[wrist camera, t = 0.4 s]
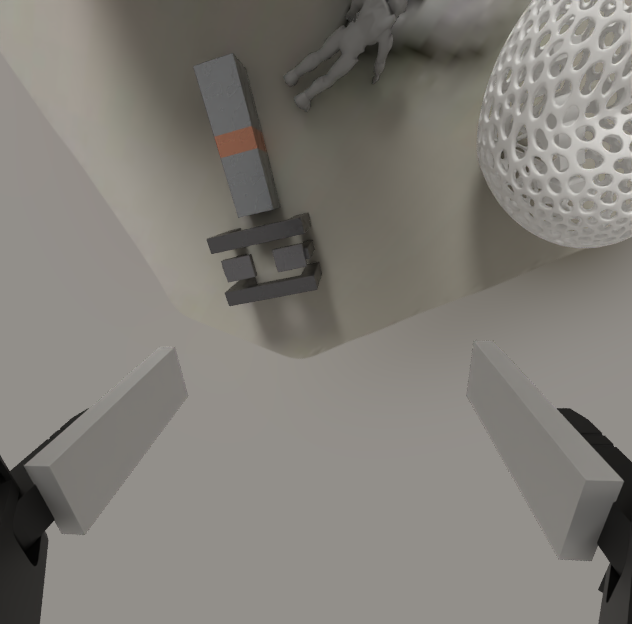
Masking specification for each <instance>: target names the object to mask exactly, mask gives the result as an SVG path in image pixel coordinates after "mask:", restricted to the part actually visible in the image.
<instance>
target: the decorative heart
mask: <svg viewBox="0 0 632 624" xmlns="http://www.w3.org/2000/svg"><path fill="white" fill-rule="evenodd" d="M594 2H595V0H590V1H589V2H588V3H585V2H584V0H532V2H531V3H530V4H529V6H528V7H527V9H526V10H525V11H524V13H523V14H522V16H521V17H520V19H519V20H518V22H517V23H516V25H515V27H514V28H513V30H512V32H511V33H510V35H509V37H508V39H507V40H506V42H505V44H504V46H503V48H502V50H501V52H500V54H499V56H498V58H497V61H496V63H495V65H494V68H493V71H492V73H491V76H490V79H489V82H488V85H487V88H486V91H485V94H484V99H483V103H482V107H481V112H480V117H479V122H478V131H477V156H478V161H479V165H480V168H481V171H482V173H483V176H484V178H485V180H486V182H487V184H488V186H489V188H490V190H491V192H492V193H493V195H494V197H495V198H496V200H497V201H498V203H499V204H500V205H501V206H502V208H503V209H504V210H505V211H506V212H507V213H508V214H509V215H510V217H511V218H512V219H513V220H515V221H516V222H517V223H518V224H519V225H521V226H522V227H523V228H525V229H526V230H527V231H529V232H530V233H532V234H534V235H536V236H538V237H540V238H542V239H544V240H547V241H549V242H552V243H555V244H558V245H561V246H566V247H573V248H597V247H603V246H606V245H611V244H615V243H618V242H621V241H623V240H626V239H628V238H630V237H632V210H631V209H632V201H631V202H630V203H629V204H628V205H626V200H627V199H632V184H631V186H630V187H629V188H628V187H627V182H628V180H630V181H631V182H632V165H631V161H632V144H631V146H630V147H629V145H630V143H631V142H632V111H631V110H629V109H627V108H626V106H628V105H629V104H632V96H631V95H632V64H631V59H632V4H631V5H630V6H627V5H626V4H625V2H624V0H598V1H597V3H596V4H595V5H594ZM568 3H572V4H570V5H566V4H568ZM609 3H613V4H614V5H610V4H609ZM600 11H603V12H604V16H601V14H600ZM614 11H615V12H614ZM612 12H614V13H613V14H612V15H611V16H609V15H610V13H612ZM560 14H565V15H564V16H563V17H562V18H561V19H559V20H558V21H556V19H557V17H558V16H559V15H560ZM608 16H609V17H608ZM587 19H589V22H588V25H587V28H586V29H585V31H584V32H583V33H582V34H580V35H575V34H574V33H575V31H576V29H577V28H578V26H579V25H580V24H581V23H582V22H583V21H585V20H587ZM544 22H546V24H545V26H544V27H543V28H542V30H540V31H539V27H540V25H541V24H542V23H544ZM615 22H616V23H615ZM532 23H533V26H532V27H531V28H530V29H528V28H529V27H530V26H531V24H532ZM612 23H613V24H612ZM565 24H567V25H569V29H568V30H567V31H566V32H564V33H563V34H560V30H561V28H562V27H563V25H565ZM622 24H623V25H624V31H623V29H622ZM594 27H595V28H594ZM592 28H594V31H593V33H592V34H591V36H590V37H589V32H590V30H591V29H592ZM609 32H613V33H614V39H613V42H612V44H611V45H610V46H605V44H604V39H605V36H606V34H607V33H609ZM547 34H551V37H550V40H549V41H548V42H547V44H546V45H544V46H543V47H540V42H541V40H542V39H543V37H544V36H546V35H547ZM600 34H601V35H600ZM621 45H622V48H621V51H620V53H619V54H618V55H616V54H615V51H616V50H617V48H618V47H619V46H621ZM525 47H526V48H525ZM524 48H525V50H524ZM523 50H524V53H523V55H522V56H521V54H522V52H523ZM582 50H583V56H582V59H581V60H580V62H579V63H578V64H577V65H576V66H575V67H573V62H574V59H575V57H576V56H577V54H579V53H580V52H582ZM589 52H590V56H589V59H588V55H589ZM520 57H521V58H520ZM618 61H619V62H618ZM598 62H601V63H603V71H601V72H596V71H595V66H596V63H598ZM616 62H618V63H616ZM615 63H616V64H615ZM560 64H561V65H562V67H561V70H560V68H559V65H560ZM510 69H511V70H512V73H511V76H510V78H509V79H508V80H507V81H506V78H507V75H508V72H509V70H510ZM523 69H524V70H523ZM522 71H523V72H522ZM521 72H522V74H521ZM585 73H586V83H585V85H584V87H583V89H582V90H581V92H580V89H579V88H580V83H581V80H582V78H583V76H584V74H585ZM612 73H615V78H614V81H611V80H610V76H609V75H610V74H612ZM520 74H521V75H520ZM564 80H565V83H564V86H563V87H562V89H561V90H560V91H558V92H557V93H556V90H558V89H560V83H561V82H562V81H564ZM594 80H599V82H598V83H597V85H596V87H595V88H594V90H593V91H592V90H591V84H592V82H593V81H594ZM522 81H524V83H523V85H522V86H521V87H519V84H520V83H521V82H522ZM495 83H496V84H495ZM570 83H571V84H572V89H571V90H570ZM494 86H495V87H494ZM526 91H528V93H526ZM605 92H606V94H604V93H605ZM615 92H617V100H616V101H615V103H614V104H613V105H612V106H609V107H606V105H607V102H608V101H609V99H610V98H611V96H612V95H613V94H614V93H615ZM603 94H604V95H603ZM542 95H544V96H543V98H542V99H541V101H540V102H539V103H538V104H537V105H536V106H533V104H534V99H535V98H536V97H539V96H542ZM561 95H562V96H561ZM510 102H511V103H512V106H511V107H510ZM521 103H524V104H523V105H522V107H521V108H520V104H521ZM543 104H544V105H543ZM589 104H590V105H589ZM491 105H492V111H491V116H490V119H489V112H490V108H491ZM542 105H543V107H542V110H541V112H540V115H539V116H538V113H539V110H540V108H541V106H542ZM588 105H589V106H588ZM587 106H588V107H587ZM500 107H501V110H500ZM499 111H500V115H499ZM585 113H593V114H594V115H595V116H594V117H591V118H586V117H585ZM512 117H513V121H512V122H511V120H512ZM607 119H611V120H612V121H613V122H614V125H613V124H611V123H609V122H608V121H607ZM629 121H631V124H629V123H628V122H629ZM524 125H525V127H526V128H525V127H524ZM585 126H587V127H585ZM601 127H605V128H606V129H603V128H601ZM623 130H626V131H628V132H629V133H630V134H631V135H627V134H625V133H624V131H623ZM497 131H498V138H497ZM519 131H520V132H522V133H523V135H519V136H517V135H518V133H519ZM586 131H590V132H591V133H592V134H593V138H592V139H591V140H587V139H586V138H585V137H584V135H585V132H586ZM507 136H509V137H508V138H507ZM525 138H528V146H527V147H526V146H523V145H521V144H519V143H517V141H519V140H521V139H525ZM617 139H618V140H619V141H620V143H621V144H620V143H619V142H618V140H617ZM602 141H605V142H607V143H608V144H609V145H610V150H609V151H607V150H606V149H605V148H604V147H603V146H602ZM539 146H540V147H541V148H539ZM516 147H519V148H521V149H523V150H524V153H523V152H521V151H519V150H517V149H516ZM585 149H588V150H587V152H586V153H585ZM502 151H503V152H504V159H501V153H502ZM597 153H598V154H599V155H598V154H597ZM553 155H556V156H557V157H558V158H556V159H555V160H552V158H553ZM535 156H537V157H539V158H541V160H538V159H536V158H534V157H535ZM587 158H591V159H593V160H594V161H595V168H594V169H584V168H583V167H582V164H584V163H585V159H587ZM623 158H624V159H623ZM493 159H494V161H493ZM619 159H623V161H622V162H618V161H617V160H619ZM508 163H509V169H508ZM534 164H536V165H534ZM526 166H527V167H528V168H529V172H528V173H527V171H526ZM618 168H623V170H624V174H622V173H619V172H617V171H616V169H618ZM517 171H518V174H519V178H517V179H516V177H515V174H516V173H517ZM599 174H605V179H604V180H603V181H601V182H600V181H599V179H598V175H599ZM575 175H580V178H579V177H576V176H575ZM593 180H594V181H595V183H594V182H593ZM507 182H508V183H507ZM508 185H511V186H512V188H513V191H514V192H513V191H511V190H510V188H509V187H508ZM532 188H534V190H533V189H532ZM538 188H539V189H541V190H540V191H538ZM619 189H621V191H620V190H619ZM596 191H597V193H596V194H595V192H596ZM604 192H607V194H606V195H605V197H603V198H601V199H600V197H601V195H602V194H603V193H604ZM614 193H615V194H616V196H617V199H616V201H615V202H613V195H614ZM522 194H525V195H526V197H527V198H524V197H523V196H522ZM510 198H511V200H512V201H511V200H510ZM531 199H533V200H534V206H531V205H530V200H531ZM569 200H571V202H572V204H573V206H569V205H568V201H569ZM561 201H563V202H562V203H561ZM586 201H593V202H594V205H593V207H592V208H590V209H584V208H583V203H584V202H586ZM545 204H551V205H552V206H553V207H549V206H547V205H545ZM565 209H567V210H568V211H567V210H565ZM604 210H606V211H605V212H604V213H601V212H602V211H604ZM630 210H631V211H630ZM613 211H616V212H617V213H616V215H615V216H613V217H611V218H610V216H611V214H612V212H613ZM629 211H630V212H629ZM529 213H531V214H532V215H533V216H534V218H533V217H532V216H531V215H530V214H529ZM600 213H601V214H600ZM552 215H555V216H556V217H553V216H552ZM589 217H592V218H591V219H589V220H588V218H589ZM572 219H577V220H579V222H578V223H573V222H572V221H571V220H572ZM543 220H546V221H543ZM609 224H610V226H609V227H606V226H607V225H609ZM585 227H589V228H586V229H583V228H585ZM571 229H572V230H576V231H568V230H571Z"/></svg>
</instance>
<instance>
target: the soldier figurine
mask: <svg viewBox="0 0 632 624" xmlns="http://www.w3.org/2000/svg"><path fill="white" fill-rule="evenodd" d="M386 2H387V3H386ZM406 6H407V0H386V1H385V0H352V3H351V9H350V10H349V11H348V13H347V14H346V16H345V18H346V17H347V18H346V20H347V19H348V18H349V20H348V21H350V19H351V18H352V19H351V23H350V24H349V25H348V27H346V28H345V26H343V25H342V26H341V27H340V28H338V29H337V30H336V31H334V32H333V33H332V34H331V35H330V36H329V37H328V38H327V39H326V40H325V42H324V45H323V46H322V47H321V48H320V49H319V50H318V51H316V52H313V53H310V54H308V55H307V56H306V57H305V58H304V59H303V61H302V62H301V63H299V64H298V65H297V66H295V68H294V69H292V70H290V71H289V72H287V74H285V75H284V77H283V78H284V80H285V82H286V84H287V85H288V86H289V87H291V86H292V85H294V86H295V84H296V83H297V80H298V79H299V77H301V76H302V75H304V74H305V73H307V72H310V71H312V70H314V69H315V68H316V67H317V66H318V65H319V64H320V63H321V62H323V61H325V60H327V59H330V58H331V57H332V56H333V55H335V54H336V53H337V52H338V51H339V50H341V53H342V55H341V56H340V57H339V58H338V60H337V61H336V62H335V63H334V64H333V65H332V66H331V68H330V70H329V72H328V73H327V74H326V75H323V76H320V77H319V78H317V79H316V80H314V81H313V83H312V84H311V86H310V87H309V88H308V89H306V90H305V91H304V92H302V93H300V94H298V95H296V96H295V97H294V101H295V103H296V105H297V106H298V107H299V108H302V109H304V110H305V112H307V111H308V110H309V109H310V107H311V104H310V102H311V99H312V98H313V97H314V96H315V95H316V94H318V93H321V92H322V91H323V90H325V89H327V88H330V87H332V85H333V83H334V82H335V81H336V80H338V79H339V78H340V77H343V76H344V75H345V74H347V73H348V72H349V71H350V70H351V69H352V67H353V66H354V65H355V64H356V63H357V62H358V61H359V60H358V59H357V58H358V55H359V54H360V53H362V52H364V50H365V49H364V48H365V47H366V46H367V45H373V44H376V43H377V42H379V48H378V57H377V58H376V61H375V66H374V68H375V70H373V72H375V76H374V77H373V78H375V79H373V82H372V84H374V83H375V82H376V81H377V80H379V75H380V74H381V72H382V71H383V70H384V67H385V60H386V58H387V54H388V52H389V51H390V49H391V47H392V44H393V35H392V33H391V28H392V26H393V24H394V23H395V22H396V19H397V18H398V17H399V15H400V14H401V13H402V12H405V11H406ZM359 11H360V12H359ZM358 12H359V15H358V17H357V16H356V13H358ZM348 14H349V15H348ZM349 16H350V17H349ZM353 18H354V23H353V22H352V21H353ZM356 18H357V20H356Z"/></svg>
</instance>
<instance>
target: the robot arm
mask: <svg viewBox="0 0 632 624" xmlns="http://www.w3.org/2000/svg"><path fill="white" fill-rule="evenodd" d="M187 397H188V394H187V390H186V386H185V382H184V379H183V375H182V371H181V367H180V364H179V360H178V356H177V353H176V349H175V347H159V348H158V349H157V350H155V351H154V352H153V353H152V354H151V355H150V356H149V357H147V358H146V359H145V360H144V361H143V362H142V363H141V364H140V365H138V366H137V367H136V368H135V369H134V370H133V371H131V372H130V373H129V374H128V375H127V376H126V377H125V378H123V379H122V380H121V381H120V382H119V383H118V384H117V385H115V386H114V387H113V388H112V389H111V390H110V391H109V392H107V393H106V394H105V395H104V396H103V397H102V398H101V399H99V400H98V401H97V402H96V403H95V404H94V405H93V406H91V407H90V408H88V409H86V410H85V411H83V412H81V413H79V414H78V415H76V416H74V417H73V418H72V419H70V420H69V421H68V422H67V423H66V424H65V425H63V426H62V427H61V428H60V430H58V431H57V432H55V433H54V434H53V435H52V436H51V437H50V439H49V440H46V441H45V442H44V443H43V444H41V445H40V446H39V447H38V448H37V449H35V450H34V451H33V452H32V453H31V454H30V455H28V456H27V457H26V458H25V459H24V460H22V461H21V462H20V463H19V464H18V465H17V466H16V467H14V468H13V469H12V470H11V471H9V469H8V468H7V466H6V464H5V463H4V461H3V460H2V458H1V456H0V624H40V616H41V606H42V597H43V586H44V578H45V577H44V576H45V568H46V558H47V549H48V537H47V534H46V532H45V530H46V529H47V528H48V527H49V526H50V524H51V523H52V522H53V521H55V523H56V524H57V526H58V528H59V530H60V531H61V533H62V534H79V535H85V534H86V533H87V531H88V530H89V528H90V527H91V526H92V525H93V523H94V522H95V521H96V519H97V518H98V517H99V515H100V514H101V513H102V511H103V510H104V509H105V507H106V506H107V505H108V503H109V502H110V500H111V499H112V498H113V496H114V495H115V494H116V492H117V491H118V490H119V488H120V487H121V486H122V484H123V483H124V482H125V480H126V479H127V478H128V476H129V475H130V474H131V472H132V471H133V470H134V468H135V467H136V466H137V464H138V463H139V461H140V460H141V459H142V458H143V456H144V454H146V452H147V451H148V449H149V448H150V447H151V445H152V444H153V443H154V441H155V440H156V439H157V437H158V436H159V435H160V433H161V432H162V431H163V429H164V428H165V427H166V425H167V424H168V423H169V421H170V420H171V418H172V417H173V416H174V415H175V413H176V412H177V411H178V409H179V408H180V406H181V405H182V404H183V402H184V401H185V400H186V398H187ZM467 398H468V399H469V401H470V403H471V405H472V407H473V408H474V410H475V412H476V414H477V415H478V417H479V419H480V421H481V423H482V424H483V426H484V428H485V429H486V431H487V433H488V435H489V436H490V439H491V440H492V442H493V444H494V446H495V447H496V449H497V451H498V453H499V455H500V456H501V458H502V460H503V462H504V463H505V465H506V467H507V469H508V471H509V472H510V474H511V476H512V478H513V479H514V481H515V483H516V485H517V486H518V488H519V490H520V492H521V493H522V495H523V497H524V499H525V501H526V502H527V504H528V506H529V508H530V509H531V511H532V513H533V515H534V517H535V518H536V520H537V522H538V524H539V526H540V527H541V529H542V531H543V533H544V534H545V536H546V538H547V540H548V542H549V543H550V545H551V547H552V549H553V550H554V552H555V554H556V556H557V557H558V559H561V560H563V559H564V560H580V561H582V560H583V561H592V559H593V556H594V554H595V551H596V549H597V546H599V547H600V549H601V550H602V551H603V553H604V554H605V556H606V557H607V559H608V560H609V562H610V564H609V566H608V569H607V571H606V573H605V575H604V578H603V580H602V582H601V584H600V587H599V589H598V590H599V591H601V592H603V598H602V604H601V611H600V617H599V624H632V462H631V461H630V460H629V459H628V458H627V457H626V456H625V455H624V454H623V453H622V452H621V451H620V450H619V449H618V448H617V447H614V446H613V443H612V442H611V441H610V440H609V439H608V438H607V437H605V436H603V435H602V433H601V432H600V431H599V430H598V429H597V428H596V427H595V426H594V425H593V424H592V423H591V422H590V421H589V420H588V419H586V418H585V417H583V416H581V415H580V414H578V413H576V412H575V411H573V410H571V409H567V408H562V409H561V408H555V407H554V406H553V405H552V403H551V402H550V401H549V400H548V399H547V398H546V397H545V396H544V395H543V394H542V393H541V391H539V389H538V388H537V387H536V386H535V385H534V384H533V383H532V382H531V381H530V380H529V379H528V377H527V376H526V375H525V374H524V373H523V372H522V371H521V370H520V369H519V368H518V367H517V366H516V365H515V363H514V362H513V361H512V360H511V359H510V358H509V357H508V356H507V355H506V354H505V353H504V352H503V351H502V350H501V348H500V347H499V346H498V345H497V344H496V343H495V342H494V341H474V343H473V349H472V357H471V365H470V373H469V380H468V387H467Z"/></svg>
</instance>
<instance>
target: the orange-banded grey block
mask: <svg viewBox="0 0 632 624" xmlns="http://www.w3.org/2000/svg"><path fill="white" fill-rule="evenodd" d="M193 67H194V70H195V74H196V77H197V80H198V84H199V87H200V91H201V94H202V97H203V101H204V104H205V107H206V111H207V114H208V117H209V121H210V124H211V127H212V131H213V134H214V137H215V141H216V144H217V147H218V151H219V154H220V157H221V161H222V164H223V168H224V171H225V174H226V178H227V181H228V184H229V188H230V191H231V194H232V198H233V201H234V204H235V208H236V211H237V214H238V218H239V217H243V216H247V215H252V214H256V213H260V212H264V211H268V210H273V209H276V208H280V203H279V199H278V195H277V191H276V187H275V183H274V179H273V175H272V171H271V167H270V163H269V159H268V155H267V151H266V147H265V143H264V139H263V135H262V131H261V127H260V123H259V119H258V115H257V111H256V107H255V103H254V99H253V95H252V91H251V87H250V83H249V79H248V75H247V71H246V68H245V67H244V66H243V65H242V63H241V62H240V61H239V60H238V59H237V58H236V56H235V55H234V54H233V53H231V54H228V55H225V56H222V57H219V58H216V59H213V60H210V61H207V62H204V63H201V64H198V65H195V66H193Z"/></svg>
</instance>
